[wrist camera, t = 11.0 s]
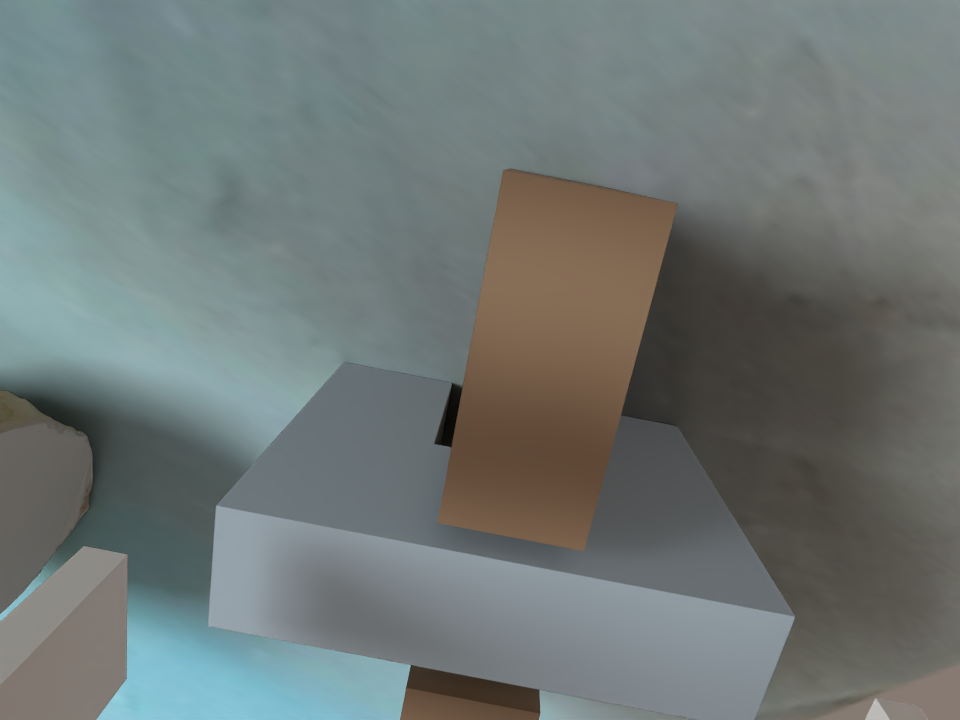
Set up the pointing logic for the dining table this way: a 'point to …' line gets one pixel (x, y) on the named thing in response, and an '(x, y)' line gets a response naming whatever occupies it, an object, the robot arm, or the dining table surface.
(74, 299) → the dining table surface
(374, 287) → the dining table surface
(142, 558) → the dining table surface
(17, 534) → the tan rough cut rock
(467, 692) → the walnut board
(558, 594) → the grey slotted slab
